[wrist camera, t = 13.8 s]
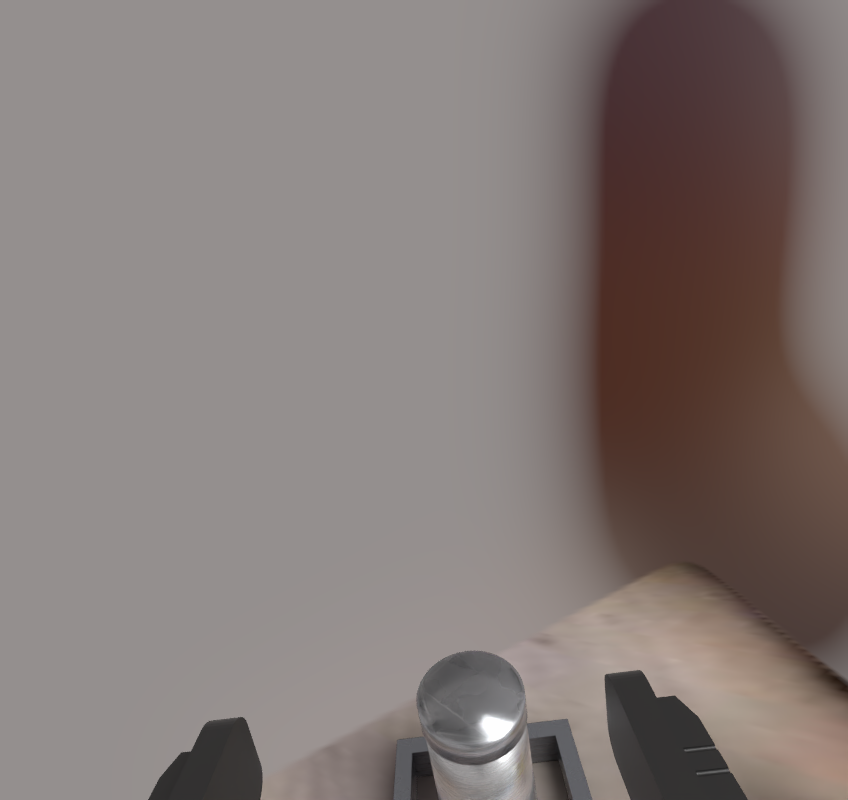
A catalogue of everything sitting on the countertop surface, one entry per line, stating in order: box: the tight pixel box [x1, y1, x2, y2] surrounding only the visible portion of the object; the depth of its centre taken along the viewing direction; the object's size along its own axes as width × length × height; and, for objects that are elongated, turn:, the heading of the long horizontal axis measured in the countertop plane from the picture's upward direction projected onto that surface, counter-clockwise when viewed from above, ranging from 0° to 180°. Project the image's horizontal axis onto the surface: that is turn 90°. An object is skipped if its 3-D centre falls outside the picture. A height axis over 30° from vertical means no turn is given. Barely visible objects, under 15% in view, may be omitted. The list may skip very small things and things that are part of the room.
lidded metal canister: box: [417, 651, 537, 800], centre depth 25 cm, size 5×5×11 cm
